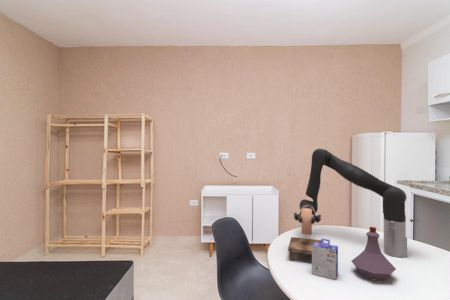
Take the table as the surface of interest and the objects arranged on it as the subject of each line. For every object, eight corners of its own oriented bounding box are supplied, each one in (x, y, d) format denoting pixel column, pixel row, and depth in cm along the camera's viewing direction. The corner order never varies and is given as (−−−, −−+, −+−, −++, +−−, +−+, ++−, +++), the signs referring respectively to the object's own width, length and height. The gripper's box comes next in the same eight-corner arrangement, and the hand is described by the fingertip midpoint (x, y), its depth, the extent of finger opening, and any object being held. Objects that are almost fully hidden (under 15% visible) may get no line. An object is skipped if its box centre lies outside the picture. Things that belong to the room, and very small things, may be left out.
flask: (371, 263, 116) (370, 220, 116) (406, 281, 100) (406, 231, 100) (342, 269, 111) (342, 224, 111) (375, 288, 95) (375, 236, 95)
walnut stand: (323, 252, 129) (323, 240, 129) (324, 265, 114) (324, 252, 114) (291, 248, 134) (291, 236, 134) (288, 260, 119) (288, 248, 119)
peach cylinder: (312, 232, 126) (312, 208, 126) (311, 235, 121) (311, 210, 121) (301, 230, 128) (301, 207, 128) (301, 234, 123) (301, 209, 123)
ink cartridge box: (338, 274, 106) (338, 240, 106) (336, 280, 101) (336, 244, 101) (314, 268, 111) (314, 236, 111) (311, 273, 107) (311, 240, 107)
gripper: (294, 205, 140) (291, 212, 124) (321, 207, 135) (322, 215, 120) (294, 218, 141) (291, 227, 125) (321, 220, 136) (322, 230, 120)
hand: (306, 221), depth 122 cm, fingers closed on peach cylinder, 5 cm apart
